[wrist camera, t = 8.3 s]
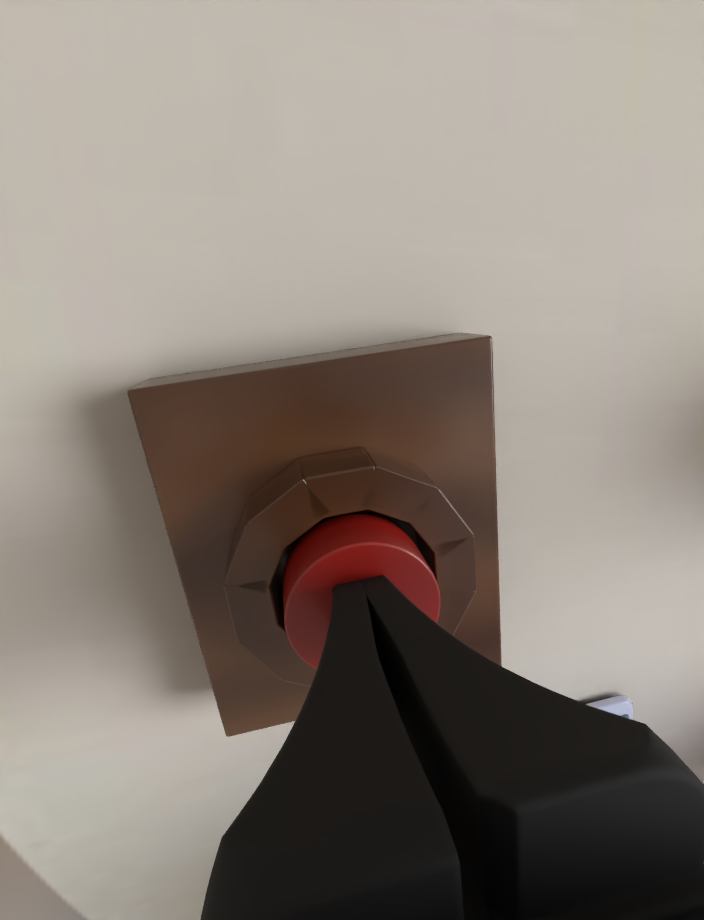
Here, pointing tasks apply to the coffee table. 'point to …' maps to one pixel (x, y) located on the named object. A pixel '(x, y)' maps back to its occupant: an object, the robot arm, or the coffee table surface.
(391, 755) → the robot arm
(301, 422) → the switch block
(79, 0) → the coffee table surface
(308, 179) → the coffee table surface
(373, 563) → the button
